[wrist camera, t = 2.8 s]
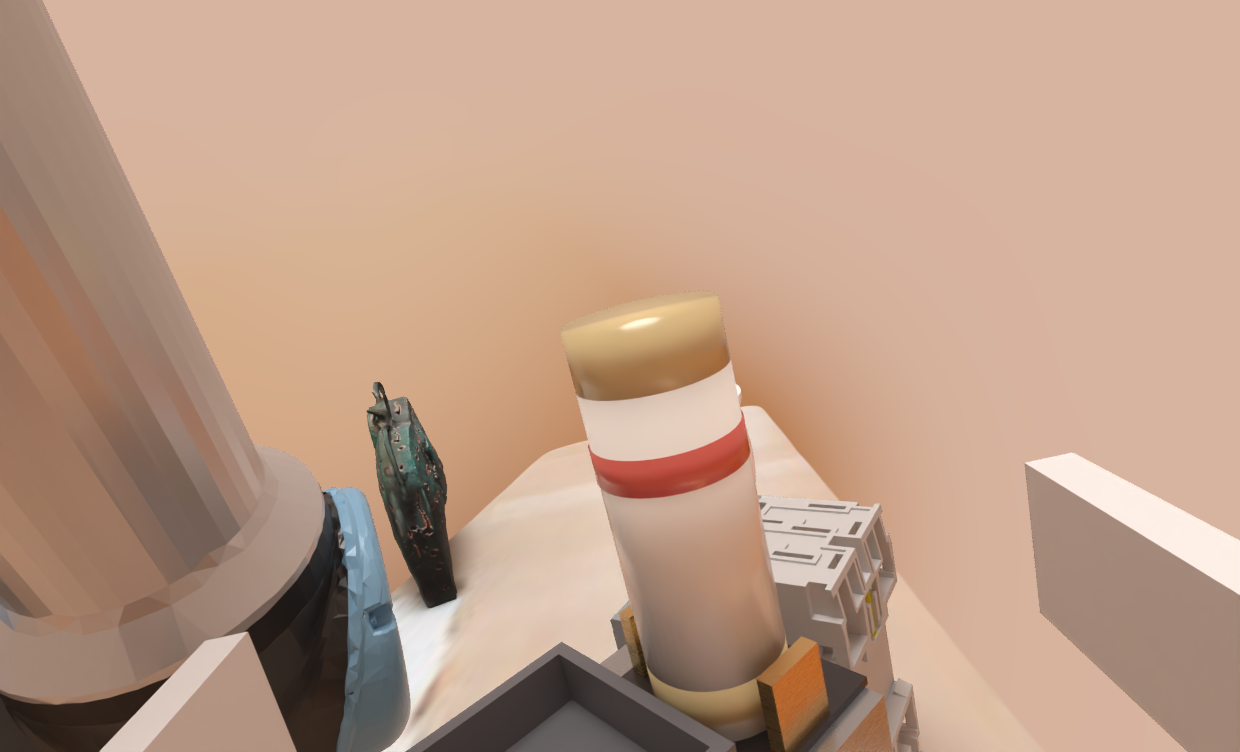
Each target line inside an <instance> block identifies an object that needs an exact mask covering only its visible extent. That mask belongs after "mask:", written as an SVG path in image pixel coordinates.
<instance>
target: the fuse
mask: <svg viewBox="0 0 1240 752" xmlns="http://www.w3.org/2000/svg"><path fill="white" fill-rule="evenodd" d="M560 333H561V337H562V341H563V345H564V348H565V353H566V356H567V361H568V364H569V368H570V372H571V376H572V380H573V384H574V388H575V391H576V395H577V399H578V403H579V407H580V411H581V415H582V419H583V422H584V426H585V430H586V434H587V437H588V442H589V445H588V448H589V452H590V456H591V460H592V463H593V467H594V471H595V475H596V479H597V483H598V485H599V487H600V488H601V492H602V496H603V500H604V504H605V508H606V511H607V515H608V519H609V523H610V527H611V531H612V535H613V539H614V542H615V546H616V550H617V554H618V558H619V562H620V566H621V569H622V573H623V577H624V581H625V585H626V589H627V593H628V597H629V600H630V604H631V608H632V612H633V616H634V620H635V624H636V628H637V631H638V635H639V639H640V643H641V647H642V651H643V655H644V658H645V662H646V666H647V670H648V674H649V678H650V682H651V686H652V689H653V693H654V696H655V697H656V698H658V699H660V700H661V701H663V702H665V703H667V704H668V705H670V706H672V707H673V708H675V709H677V710H678V711H680V712H682V713H684V714H685V715H687V716H689V717H690V718H692V719H694V720H695V721H697V722H699V723H701V724H702V725H704V726H706V727H707V728H709V729H711V730H713V731H714V732H716V733H718V734H719V735H721V736H723V737H724V738H726V739H728V740H730V741H731V742H734V741H740V740H743V739H747V738H750V737H752V736H755V735H757V734H759V733H761V732H763V731H765V730H767V728H766V723H765V718H764V714H763V709H762V704H761V699H760V695H759V690H758V685H757V680H756V679H757V678H758V677H759V676H760V675H761V674H762V673H763V672H764V671H765V670H766V669H767V668H769V667H770V666H771V665H772V664H773V663H774V662H775V661H776V660H777V659H778V658H779V657H780V656H781V655H782V654H783V653H784V652H785V651H786V650H788V646H787V641H786V635H785V630H784V625H783V620H782V615H781V610H780V605H779V600H778V595H777V590H776V585H775V580H774V575H773V570H772V565H771V560H770V555H769V550H768V545H767V540H766V535H765V530H764V524H763V519H762V514H761V509H760V504H759V499H758V494H757V489H756V484H755V479H754V474H753V469H752V464H751V459H750V446H749V441H748V436H747V431H746V426H745V420H744V415H743V412H742V410H741V408H740V403H739V398H738V393H737V388H736V383H735V378H734V373H733V368H732V363H731V358H730V353H729V348H728V343H727V338H726V333H725V328H724V323H723V318H722V313H721V308H720V302H719V297H718V294H717V293H715V292H710V291H693V292H683V293H674V294H667V295H662V296H656V297H651V298H647V299H641V300H637V301H633V302H629V303H625V304H621V305H617V306H613V307H610V308H607V309H604V310H600V311H597V312H594V313H591V314H589V315H586V316H583V317H581V318H579V319H576V320H574V321H572V322H570V323H568V324H566V325H565V326H564V327H563V328H561V330H560Z"/></svg>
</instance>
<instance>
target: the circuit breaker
mask: <svg viewBox="0 0 1240 752" xmlns="http://www.w3.org/2000/svg"><path fill="white" fill-rule="evenodd" d="M758 499H759V504H760V509H761V514H762V519H763V524H764V530H765V535H766V540H767V545H768V550H769V555H770V560H771V565H772V570H773V575H774V580H775V585H776V590H777V595H778V600H779V605H780V610H781V615H782V620H783V625H784V630H785V635H786V641H787V644H789V645H791V646H792V645H793V644H794V643H795V642H796V641H797V640H798V639H799V638H800V637H801V636H802V637H805V638H807V639H810V640H812V641H815V642H817V644H818V649H819V655H820V658H823V659H825V660H827V661H830V662H832V663H835V664H837V665H840V666H842V667H844V668H847V669H849V670H852V671H854V672H857V673H859V674H861V675H864V676H866V677H867V681H868V685H867V686H866V687H865V688H868V689H870V690H872V691H875V692H877V693H879V694H882V695H884V699H885V705H886V712H887V718H888V724H889V731H890V737H891V743H892V749H893V752H922V751H920V750H919V743H918V736H919V727H918V720H917V713H916V706H915V699H914V693H913V686H912V684H910V683H907V682H905V681H903V680H901V679H899V678H898V681H894V677H893V671H892V664H891V658H890V651H889V645H888V638H887V632H886V625H885V622H886V620H887V618H888V609H887V602H888V600H889V598H890V595H891V593H892V591H893V589H894V587H895V584H896V582H897V576H896V570H895V564H894V556H893V550H892V542H891V539H890V536H889V533H886V532H885V529H884V526H883V522H882V519H881V516H880V514H881V513H882V508H881V505H880V504H875V505H874V506H873V507H863V506H859V504H858V502H845V501H831V500H817V499H802V498H788V497H773V496H759V495H758ZM881 565H882V566H883V569H881V568H880V567H881ZM630 605H631V604H630V600H629V601H628V602H627V603H626V604H625V605H624V606H623V607H622V608H621V610H620V611H619V612H618V613H617V614H616V615H615V616H614V617H613V618H612V619H611V620H610V621H611V624H612V627H613V633H614V636H615V640H616V644H617V648H618V650H619V649H620V648H622V647H623V646H624V645H626V644H627V643H626V639H625V635H624V631H623V627H622V624H621V620H620V616H619V613H620V612H621V611H623V610H624V609H626V608H627V607H628V606H630ZM904 716H905V718H906V723H903V719H904Z"/></svg>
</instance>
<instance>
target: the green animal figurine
mask: <svg viewBox="0 0 1240 752" xmlns="http://www.w3.org/2000/svg"><path fill="white" fill-rule="evenodd" d="M373 389H374V391H375V393H374V392H373V395H374V396H375V398H376V404H375V406H373V407H370V408H369V410H367V412H368V415H367V418H368V426H369V431H370V434H371V438H372V441H373V445H374V448H375V454H376V469H377V477H378V482H379V490H380V493H381V496H382V498H383V502H384V505H385V509H386V512H387V514H388V518H389V521H390V523H391V527H392V531H393V535H394V537H395V540H396V541H397V544H398V546H399V548H400V549H401V551H402V554H403V557H404V559H405V561H406V563H407V566H408V568H409V570H410V572H411V574H412V576H413V577H414V579H415V581H416V583H417V585H418V587H419V590H420V593H421V596H422V598H423V600H424V602H425V604H426V606H427V607H429V608H430V607H434V606H436V605H439V604H442V603H444V602H446V601H450V600H452V599H455V598H456V594H457V590H456V586H455V583H454V578H453V571H452V561H451V556H450V549H449V543H448V537H447V530H446V518H445V511H444V510H445V504H446V500H447V496H446V494H447V484H446V478H445V475H444V472H443V465H442V463H441V461H440V459H439V457H438V455H437V452H436V450H435V449H434V447H433V446H432V444H431V443H430V441H429V439H428V438H427V435H426V434H425V431H424V429H423V427H422V425H421V423H420V422H419V420H418V418H417V416H416V414H415V412H414V410H413V408H412V406H411V404H410V402H409V401H408V399H407V398H405V397H401V398H397V399H393V400H390V401H389V400H388V399H387V397H386V395H385V391H384V388H383V386H382V384H381V383H380V382H375V383H374V386H373ZM379 390H380V392H381V393H382V394H383V398H382V397H381V396H380V393H379Z"/></svg>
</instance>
